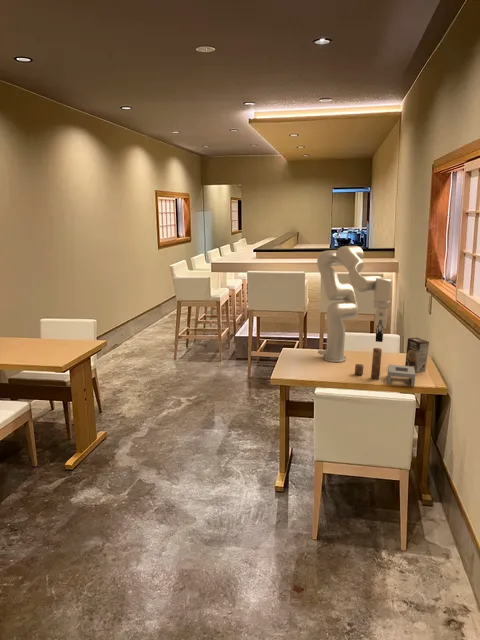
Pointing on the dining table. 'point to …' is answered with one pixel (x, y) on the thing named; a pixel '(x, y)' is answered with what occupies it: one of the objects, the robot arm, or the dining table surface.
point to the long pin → (376, 363)
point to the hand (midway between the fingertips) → (379, 339)
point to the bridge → (401, 372)
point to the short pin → (359, 369)
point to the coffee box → (417, 354)
